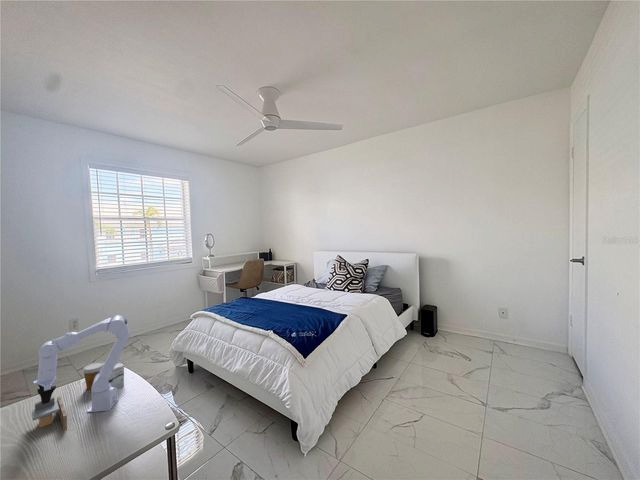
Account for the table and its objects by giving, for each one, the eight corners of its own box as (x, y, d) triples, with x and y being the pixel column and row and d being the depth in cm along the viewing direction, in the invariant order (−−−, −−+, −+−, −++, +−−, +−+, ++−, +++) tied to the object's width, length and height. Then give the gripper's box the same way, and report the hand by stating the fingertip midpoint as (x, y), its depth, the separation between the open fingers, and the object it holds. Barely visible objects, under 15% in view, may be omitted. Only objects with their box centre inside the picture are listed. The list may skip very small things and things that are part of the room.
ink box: (105, 393, 138) (104, 371, 138) (102, 389, 141) (102, 368, 141) (124, 385, 145) (124, 364, 144) (121, 382, 148) (121, 361, 147)
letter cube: (38, 423, 116) (38, 414, 116) (51, 418, 119) (51, 409, 119) (39, 427, 114) (39, 418, 113) (52, 422, 117) (52, 413, 117)
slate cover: (31, 412, 116) (31, 403, 115) (56, 403, 122) (56, 394, 122) (32, 420, 111) (32, 411, 110) (59, 410, 117) (59, 402, 117)
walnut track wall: (57, 409, 125) (57, 397, 125) (60, 408, 126) (60, 396, 125) (63, 430, 112) (63, 416, 112) (66, 428, 113) (66, 415, 113)
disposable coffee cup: (109, 384, 146) (109, 363, 145) (88, 393, 137) (88, 371, 137) (99, 380, 150) (99, 359, 149) (79, 389, 141) (78, 367, 141)
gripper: (33, 365, 118) (31, 395, 118) (34, 378, 109) (32, 411, 108) (55, 361, 123) (53, 389, 123) (58, 373, 114) (56, 403, 114)
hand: (45, 399), depth 116 cm, fingers open, 7 cm apart
